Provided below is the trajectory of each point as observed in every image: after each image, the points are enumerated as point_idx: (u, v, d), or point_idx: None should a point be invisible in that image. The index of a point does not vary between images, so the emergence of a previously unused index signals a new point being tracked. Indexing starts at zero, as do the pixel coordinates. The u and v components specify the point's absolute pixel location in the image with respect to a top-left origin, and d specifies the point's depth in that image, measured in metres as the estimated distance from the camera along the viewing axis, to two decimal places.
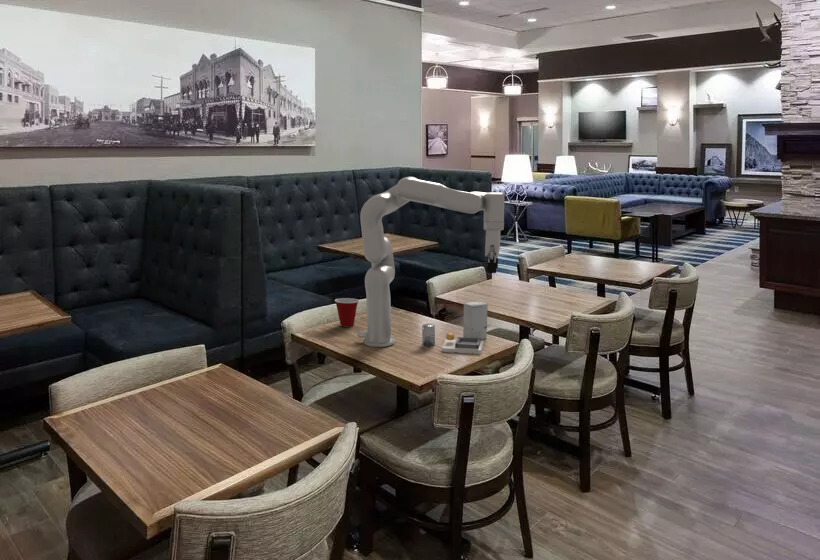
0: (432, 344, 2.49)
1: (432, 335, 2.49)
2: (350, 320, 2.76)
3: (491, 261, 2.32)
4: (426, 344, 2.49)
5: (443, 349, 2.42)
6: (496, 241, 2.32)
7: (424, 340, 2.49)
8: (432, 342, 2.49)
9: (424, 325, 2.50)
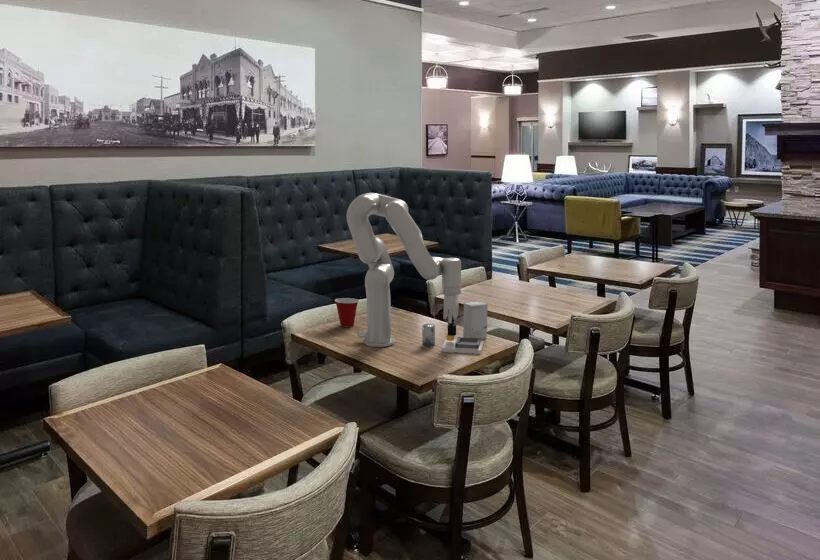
0: (432, 344, 2.49)
1: (432, 335, 2.49)
2: (350, 320, 2.76)
3: (450, 325, 2.46)
4: (426, 344, 2.49)
5: (443, 349, 2.42)
6: (453, 305, 2.41)
7: (424, 340, 2.49)
8: (432, 342, 2.49)
9: (424, 325, 2.50)
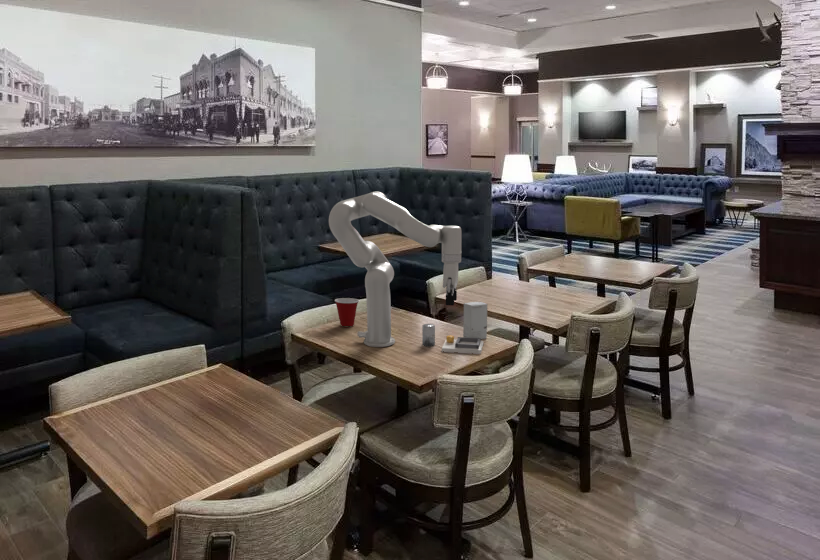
0: (432, 344, 2.49)
1: (432, 335, 2.49)
2: (350, 320, 2.76)
3: (449, 294, 2.40)
4: (426, 344, 2.49)
5: (443, 349, 2.42)
6: (453, 273, 2.39)
7: (424, 340, 2.49)
8: (432, 342, 2.49)
9: (424, 325, 2.50)
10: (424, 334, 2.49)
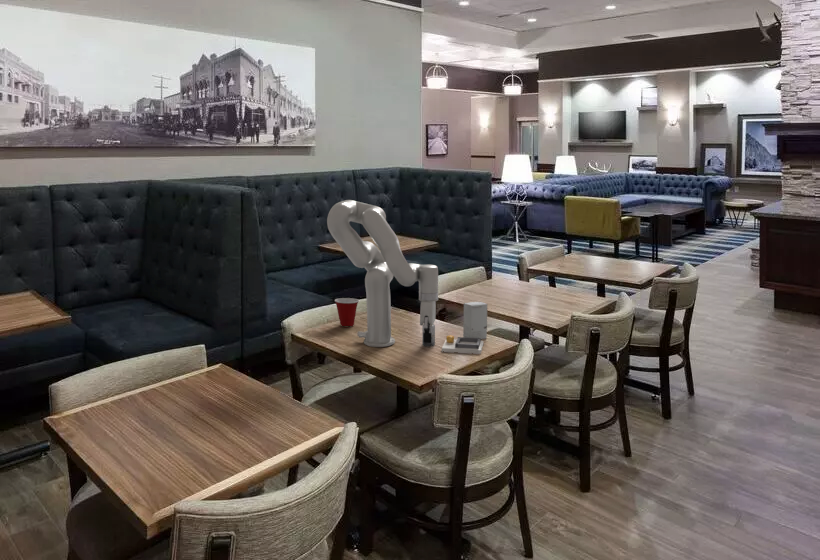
0: (432, 344, 2.49)
1: (432, 335, 2.49)
2: (350, 320, 2.76)
3: (426, 332, 2.46)
4: (426, 344, 2.49)
5: (443, 349, 2.42)
6: (430, 312, 2.44)
7: None
8: (432, 342, 2.49)
9: None
10: None
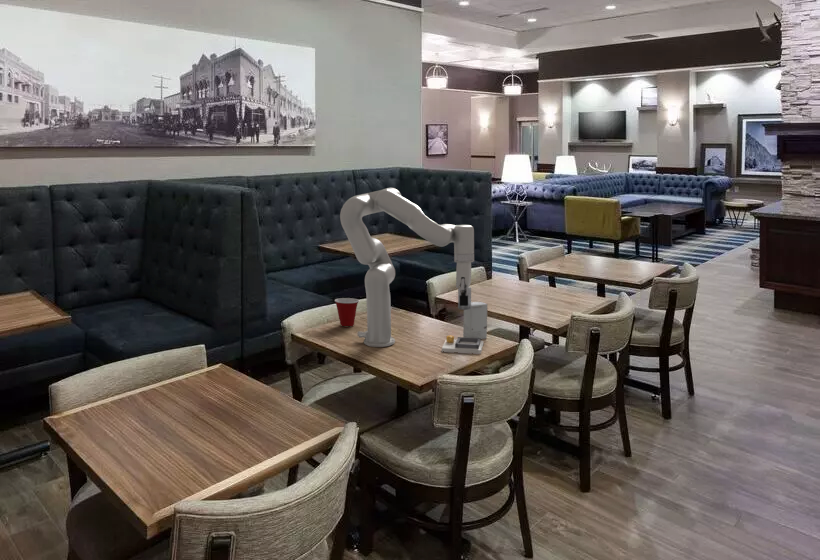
0: (469, 307, 2.42)
1: (469, 298, 2.41)
2: (350, 320, 2.76)
3: (462, 294, 2.38)
4: (462, 308, 2.41)
5: (443, 349, 2.42)
6: (466, 273, 2.36)
7: None
8: (469, 305, 2.41)
9: None
10: None
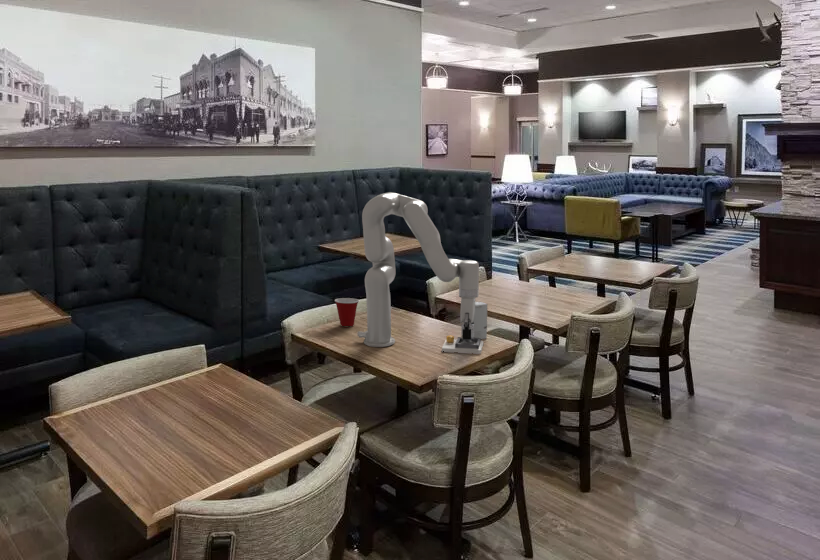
0: None
1: (472, 335, 2.43)
2: (350, 320, 2.76)
3: (466, 328, 2.38)
4: None
5: (443, 349, 2.42)
6: (470, 309, 2.38)
7: (464, 340, 2.44)
8: (472, 342, 2.44)
9: None
10: None
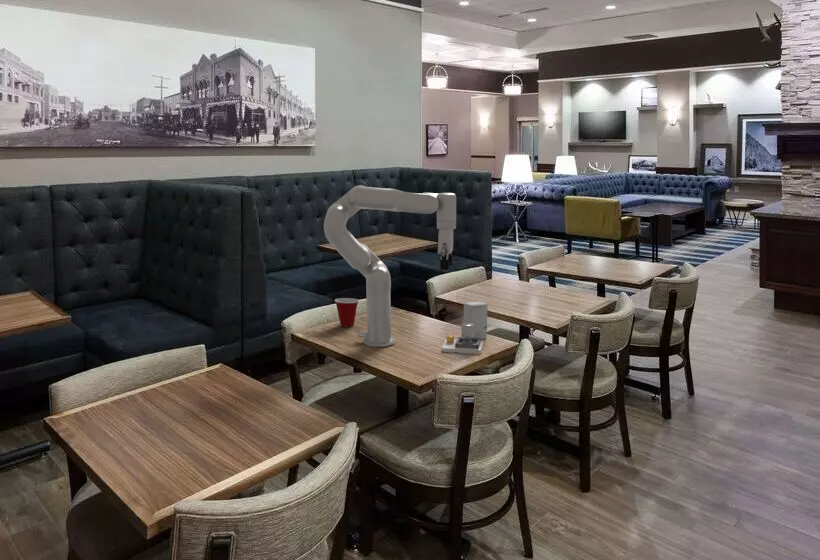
0: None
1: (472, 335, 2.43)
2: (350, 320, 2.76)
3: (443, 258, 2.44)
4: None
5: (443, 349, 2.42)
6: (448, 239, 2.43)
7: (464, 340, 2.44)
8: (472, 342, 2.44)
9: (463, 325, 2.44)
10: (464, 334, 2.43)
